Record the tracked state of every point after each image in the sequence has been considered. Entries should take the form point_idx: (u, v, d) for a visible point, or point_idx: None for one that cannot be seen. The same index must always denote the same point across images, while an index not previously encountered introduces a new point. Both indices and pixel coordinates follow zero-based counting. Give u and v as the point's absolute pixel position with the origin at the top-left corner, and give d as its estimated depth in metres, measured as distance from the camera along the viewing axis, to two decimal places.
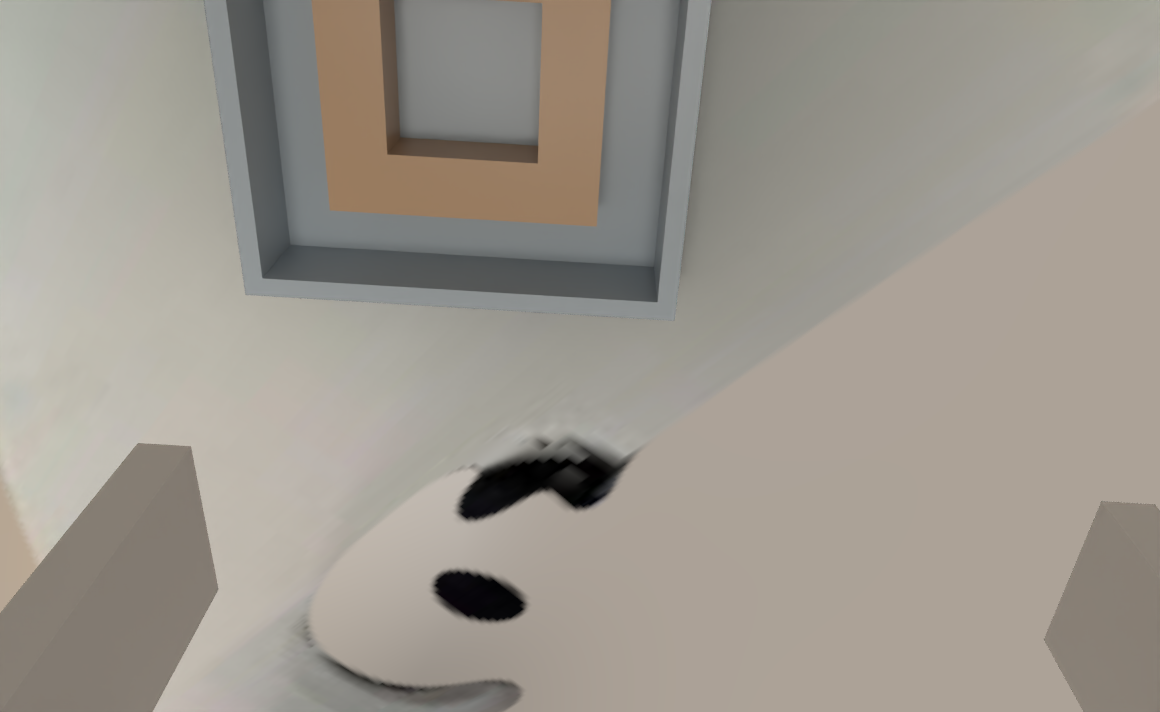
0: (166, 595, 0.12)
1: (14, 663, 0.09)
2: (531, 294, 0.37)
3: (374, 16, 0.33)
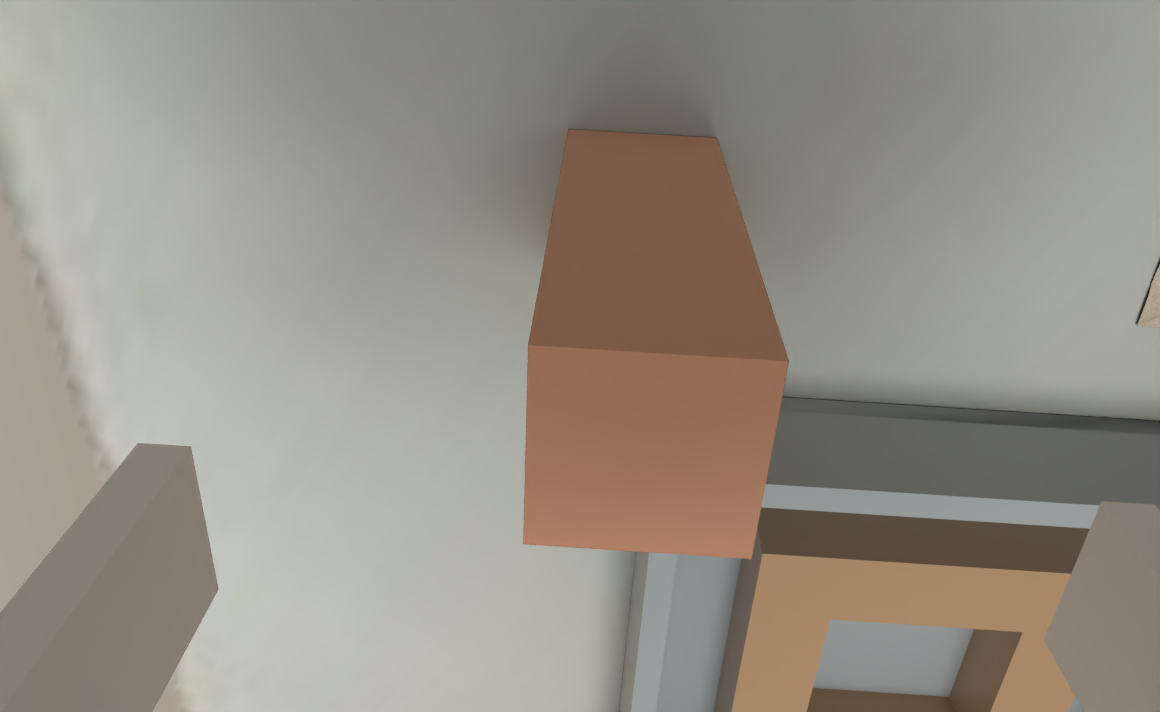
0: (166, 595, 0.12)
1: (14, 663, 0.09)
2: None
3: (819, 637, 0.29)
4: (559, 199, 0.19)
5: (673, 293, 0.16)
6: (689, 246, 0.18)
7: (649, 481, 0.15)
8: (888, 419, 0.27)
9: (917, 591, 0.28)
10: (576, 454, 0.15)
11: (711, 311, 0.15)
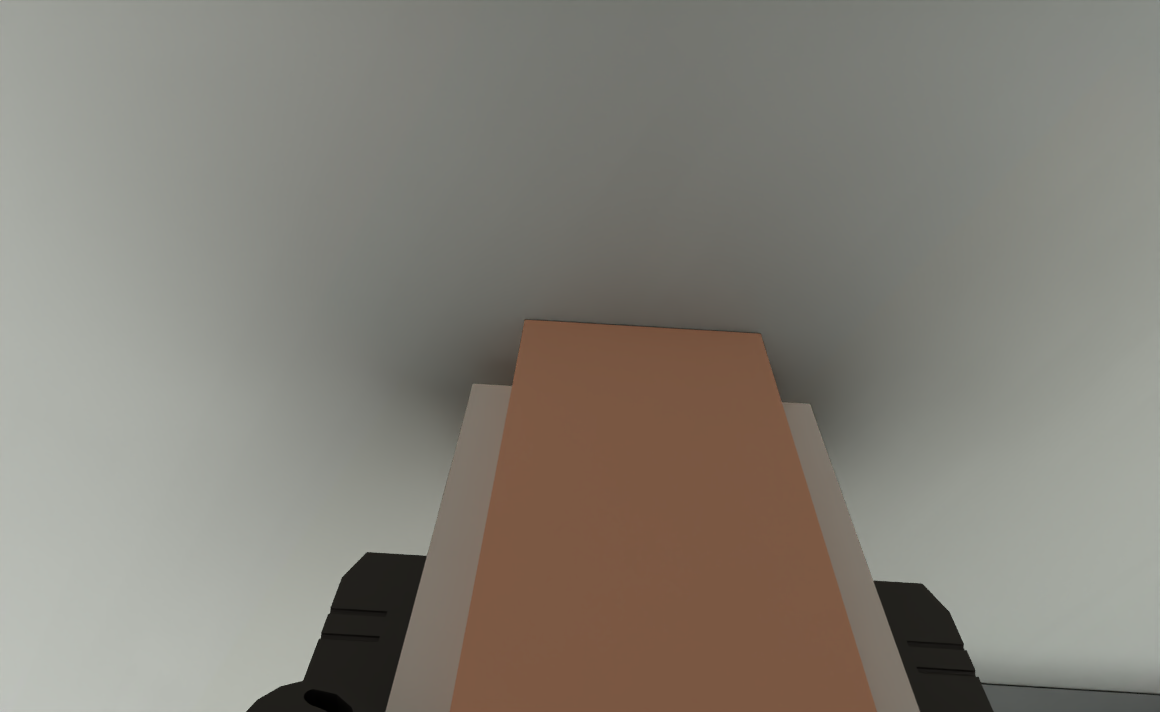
0: None
1: (473, 548, 0.11)
2: None
3: None
4: (492, 532, 0.10)
5: None
6: (744, 698, 0.09)
7: None
8: None
9: None
10: None
11: None
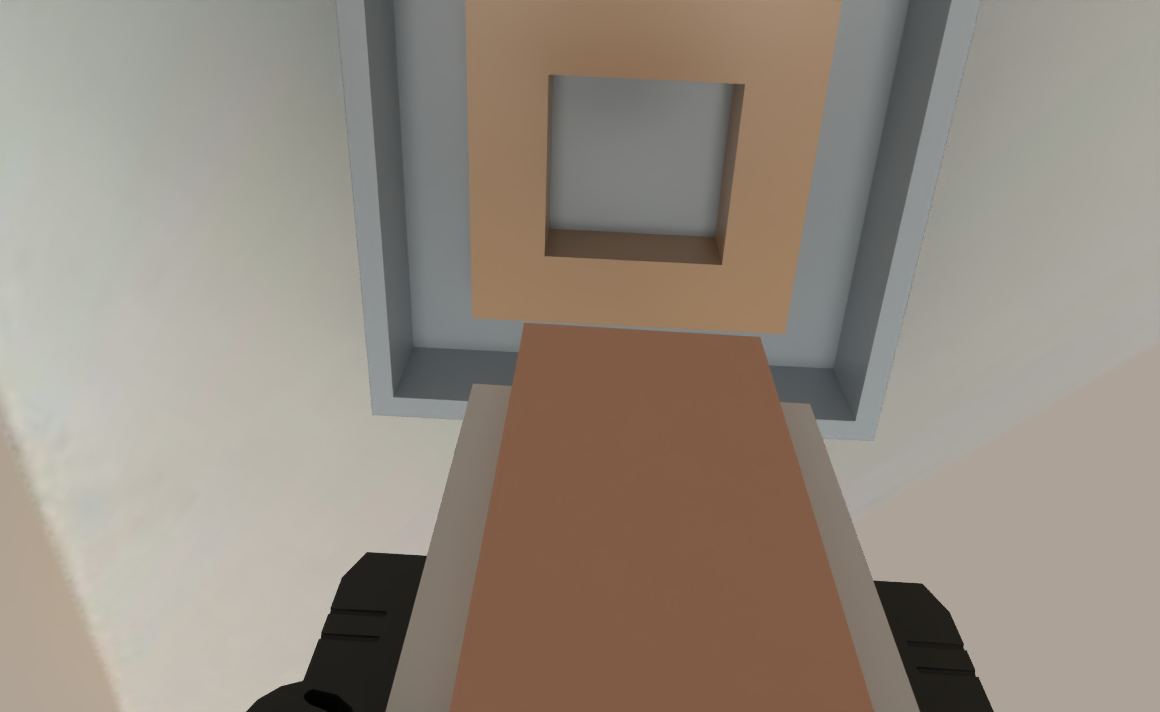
0: None
1: (473, 548, 0.11)
2: None
3: (541, 101, 0.28)
4: (490, 537, 0.10)
5: None
6: (744, 705, 0.09)
7: None
8: None
9: (629, 30, 0.27)
10: None
11: None
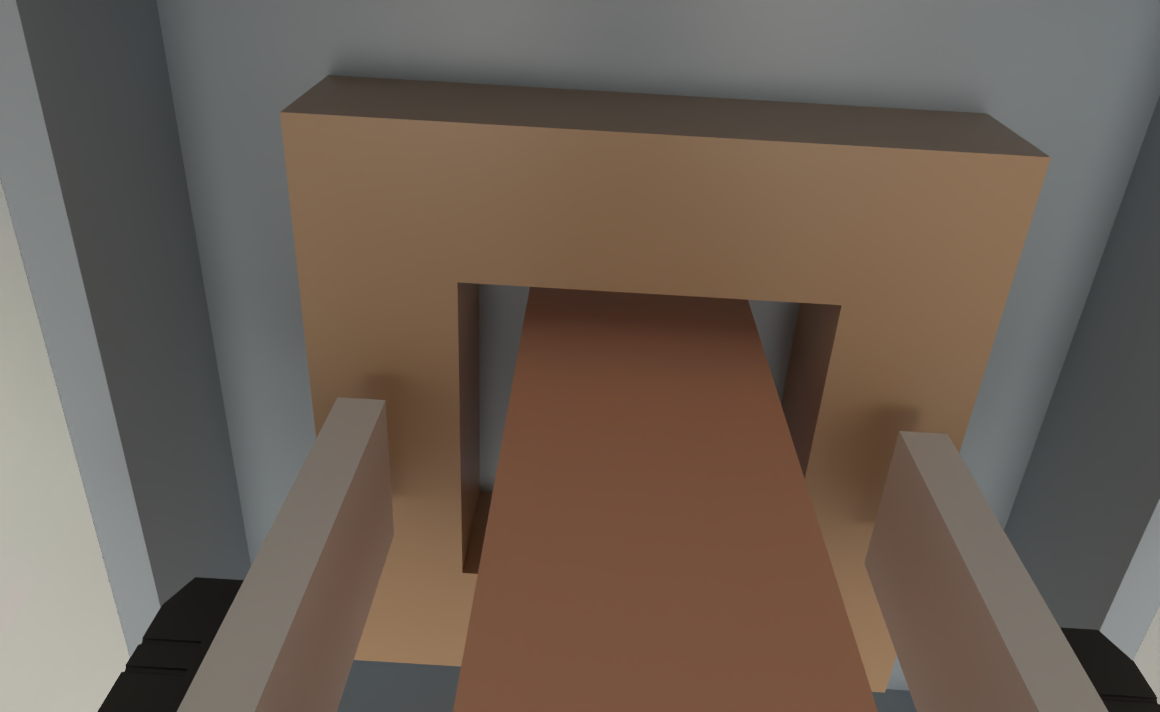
0: (370, 533, 0.14)
1: (294, 575, 0.11)
2: None
3: (446, 327, 0.14)
4: (506, 452, 0.12)
5: None
6: (726, 578, 0.10)
7: None
8: None
9: (616, 206, 0.13)
10: None
11: None
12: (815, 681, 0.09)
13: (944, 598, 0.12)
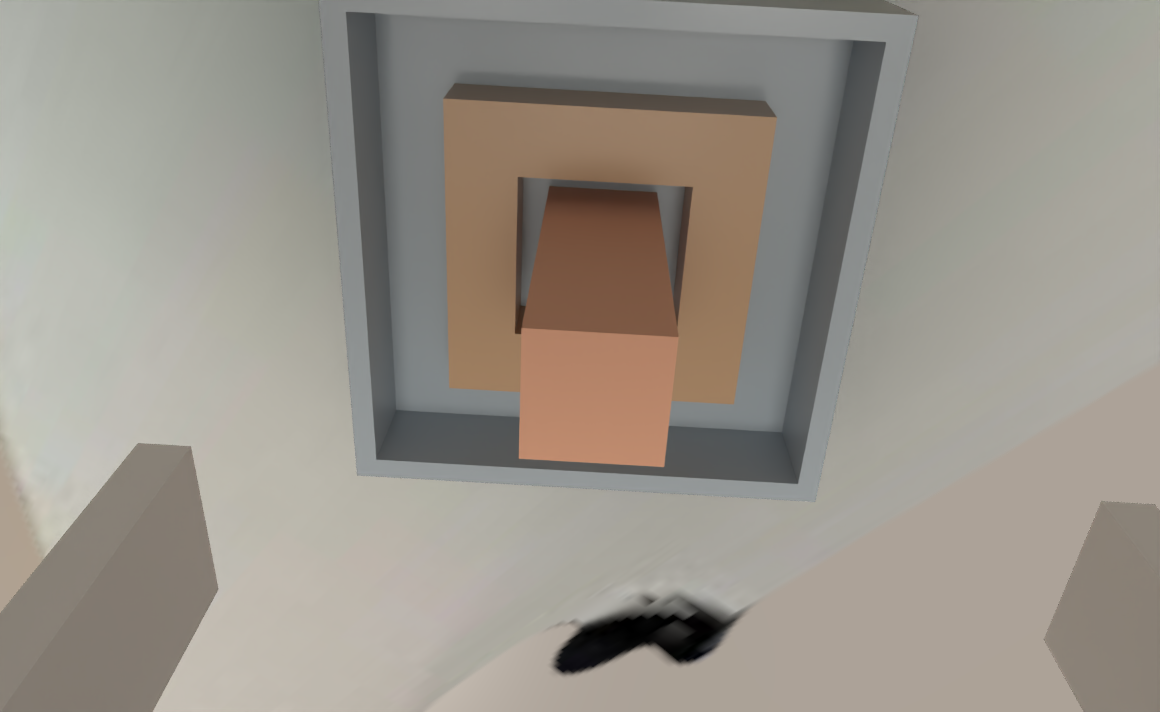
0: (166, 595, 0.12)
1: (14, 663, 0.09)
2: (664, 475, 0.35)
3: (511, 199, 0.31)
4: (542, 238, 0.29)
5: (613, 298, 0.25)
6: (627, 268, 0.27)
7: (597, 415, 0.24)
8: None
9: (589, 140, 0.30)
10: (551, 397, 0.24)
11: (635, 309, 0.24)
12: (652, 288, 0.26)
13: None
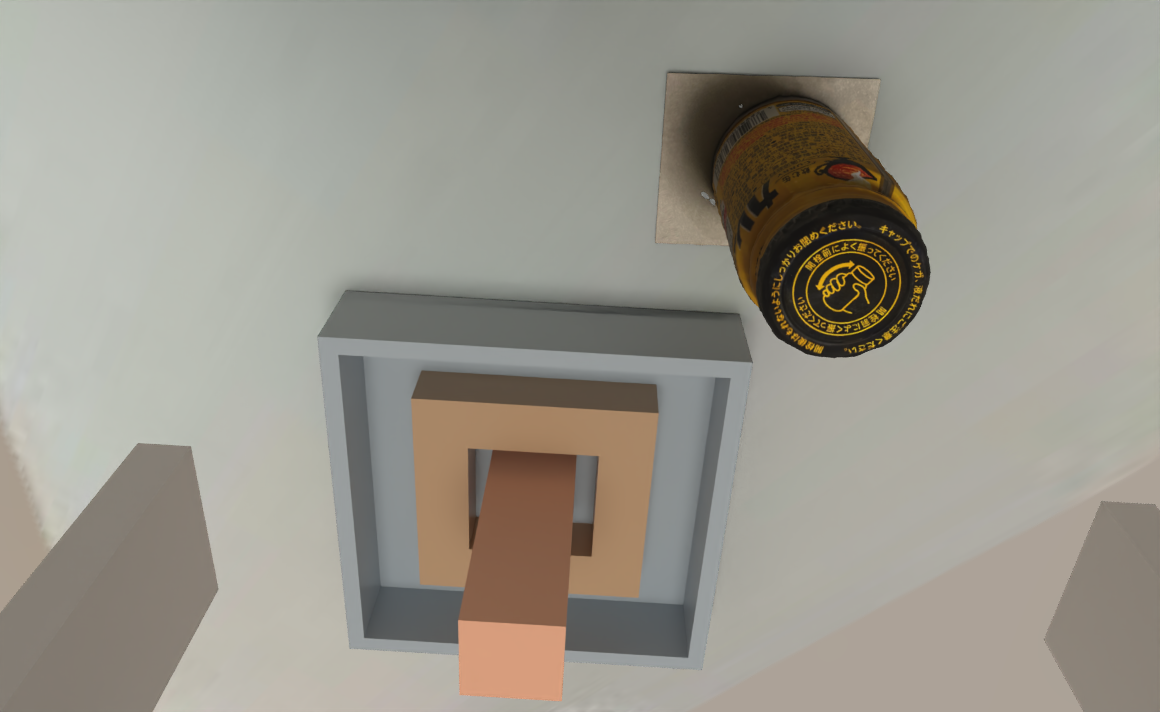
0: (166, 595, 0.12)
1: (14, 663, 0.09)
2: (585, 650, 0.46)
3: (463, 462, 0.42)
4: (482, 509, 0.39)
5: (526, 582, 0.35)
6: (540, 546, 0.37)
7: (513, 670, 0.35)
8: (498, 308, 0.40)
9: (520, 425, 0.41)
10: (481, 660, 0.34)
11: (540, 595, 0.35)
12: (556, 570, 0.36)
13: None
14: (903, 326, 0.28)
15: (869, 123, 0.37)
